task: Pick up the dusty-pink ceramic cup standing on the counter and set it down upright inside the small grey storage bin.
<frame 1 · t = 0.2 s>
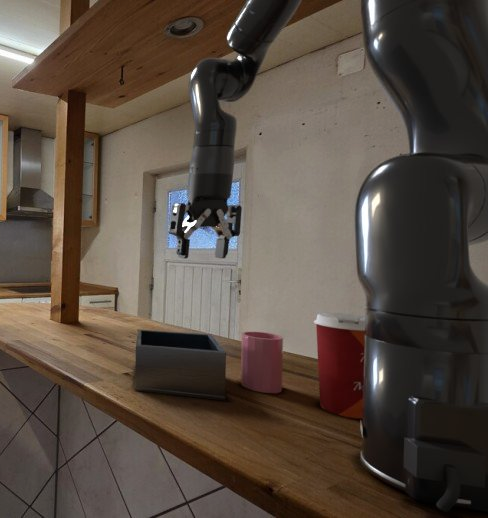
hand: (201, 257, 73), 22 cm above the table, tool pointing down, fingers open, 8 cm apart
paper cup: (344, 411, 55), on the table
pink cup: (260, 386, 65), on the table
grey storage bin: (175, 381, 67), on the table
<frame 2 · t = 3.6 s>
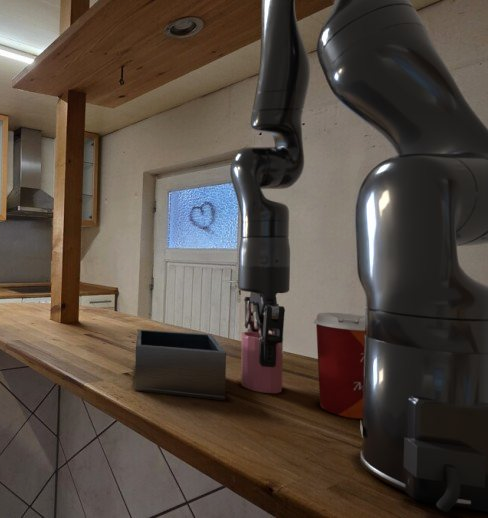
hand: (261, 360, 65), 5 cm above the table, tool pointing down, fingers closed on pink cup, 6 cm apart
pink cup: (261, 386, 65), on the table, touching gripper
everything else where it was.
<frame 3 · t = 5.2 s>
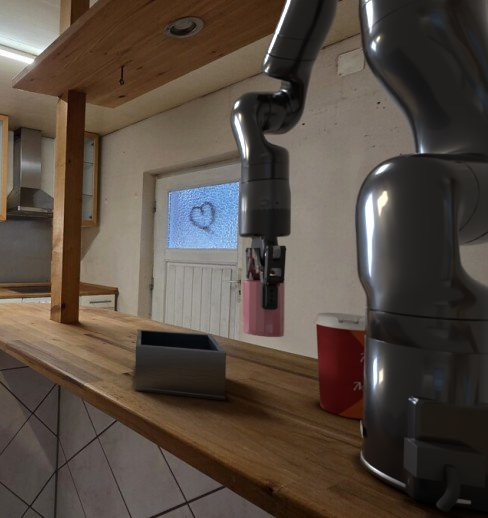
hand: (263, 306, 64), 14 cm above the table, tool pointing down, fingers closed on pink cup, 6 cm apart
pink cup: (263, 333, 64), point 9 cm above the table, touching gripper
everything else where it was.
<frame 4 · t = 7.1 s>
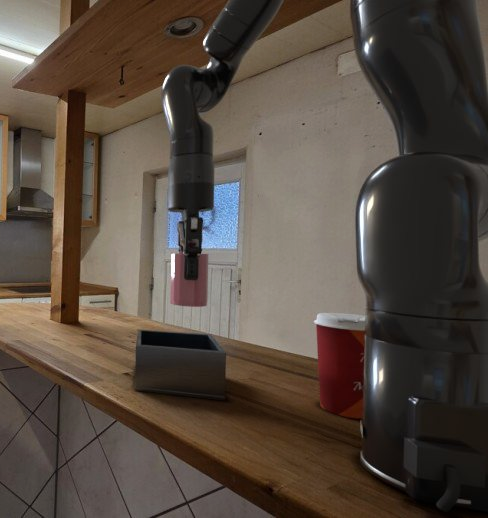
hand: (188, 278, 66), 19 cm above the table, tool pointing down, fingers closed on pink cup, 6 cm apart
pink cup: (188, 304, 66), point 14 cm above the table, touching gripper
everything else where it was.
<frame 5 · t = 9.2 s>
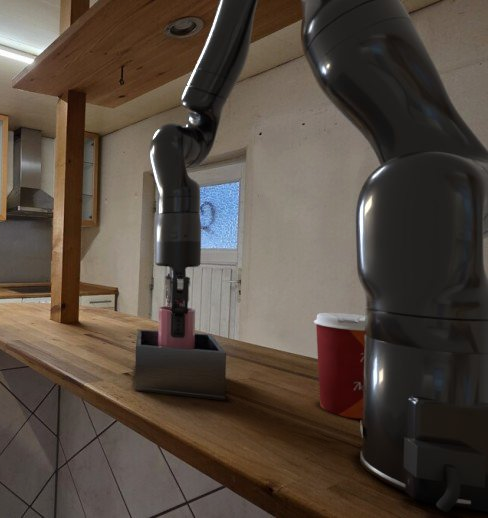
hand: (176, 332, 67), 9 cm above the table, tool pointing down, fingers closed on pink cup, 6 cm apart
pink cup: (175, 358, 67), point 4 cm above the table, touching gripper
everything else where it was.
when the fingers open (5 cm above the table, at t = 10.7 s): pink cup stays where it is, resting on grey storage bin.
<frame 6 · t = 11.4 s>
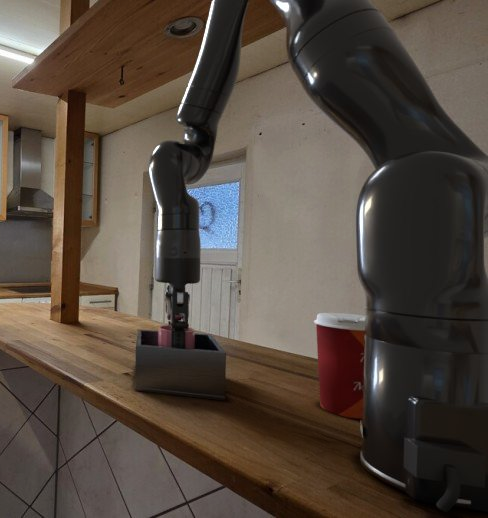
hand: (176, 346, 67), 6 cm above the table, tool pointing down, fingers open, 8 cm apart
pink cup: (175, 378, 67), point 1 cm above the table, touching grey storage bin
everything else where it was.
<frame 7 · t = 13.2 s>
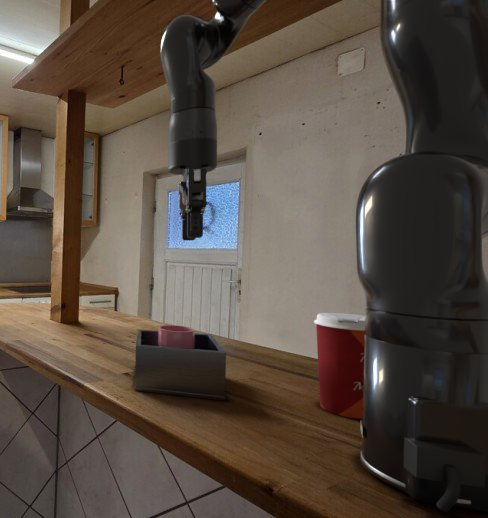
hand: (191, 239, 63), 25 cm above the table, tool pointing down, fingers open, 8 cm apart
nothing on the table moved.
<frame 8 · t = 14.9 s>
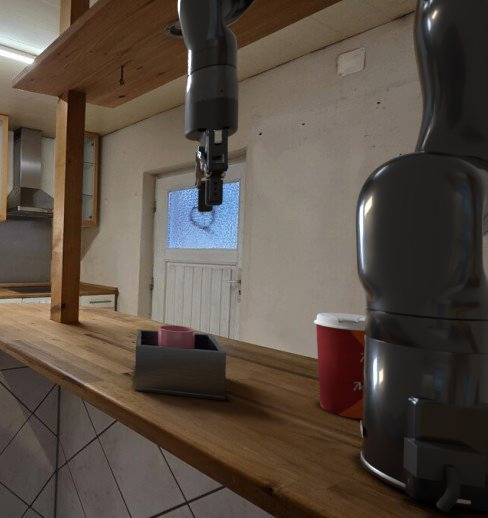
hand: (209, 209, 58), 30 cm above the table, tool pointing down, fingers open, 8 cm apart
nothing on the table moved.
at the end: pink cup inside the target area in the grey storage bin (0.0 cm from its centre), point 0.6 cm above the grey storage bin's base; pink cup tilted 0° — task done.
